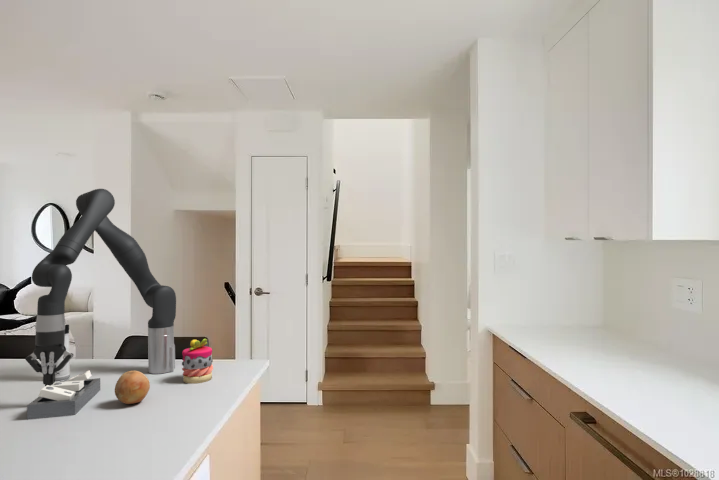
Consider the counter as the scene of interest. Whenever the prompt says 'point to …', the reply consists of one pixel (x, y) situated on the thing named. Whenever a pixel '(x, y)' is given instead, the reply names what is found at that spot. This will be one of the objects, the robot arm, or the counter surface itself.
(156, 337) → the robot arm
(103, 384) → the counter surface
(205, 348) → the cake
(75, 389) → the rocker middle
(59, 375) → the travel mug
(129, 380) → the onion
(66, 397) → the rocker
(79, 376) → the rocker
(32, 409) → the power strip
